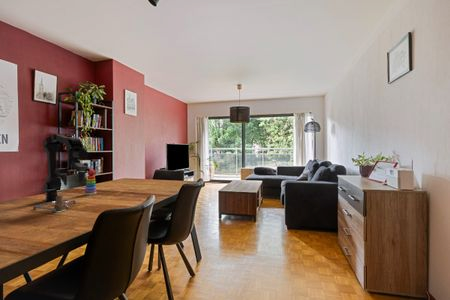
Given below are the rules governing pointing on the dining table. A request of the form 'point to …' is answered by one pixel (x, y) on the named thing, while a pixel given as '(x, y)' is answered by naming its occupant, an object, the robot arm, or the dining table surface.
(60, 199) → the walnut peg
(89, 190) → the stacking toy
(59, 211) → the sage coaster
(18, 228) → the dining table surface
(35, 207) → the rail leg
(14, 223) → the dining table surface
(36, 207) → the rails leg
